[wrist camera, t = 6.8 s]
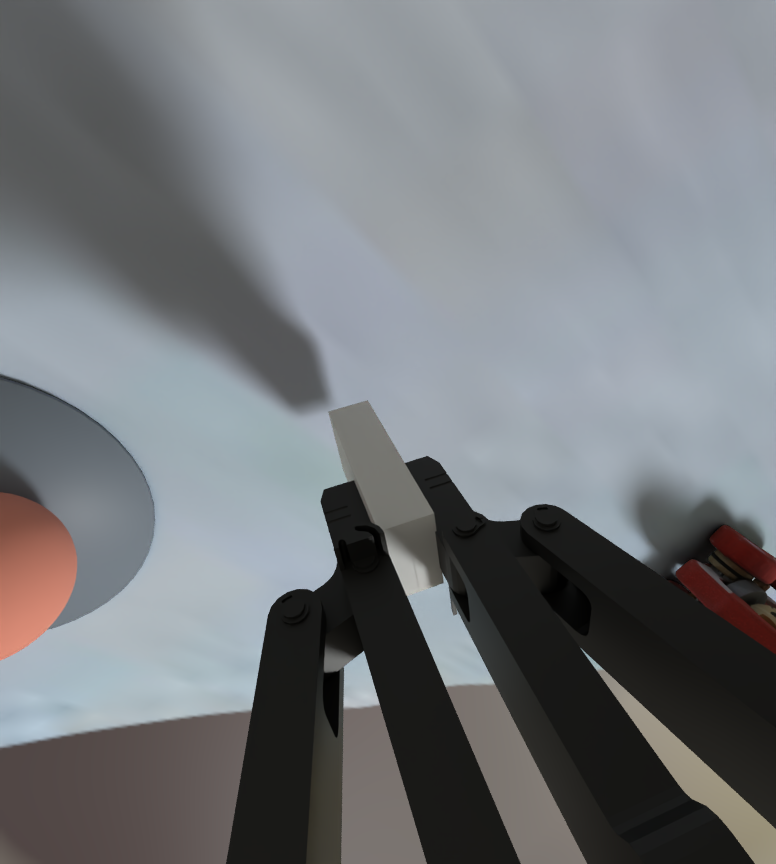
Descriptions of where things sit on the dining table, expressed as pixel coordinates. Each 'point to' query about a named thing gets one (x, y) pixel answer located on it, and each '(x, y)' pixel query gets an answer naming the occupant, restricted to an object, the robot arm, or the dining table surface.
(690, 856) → the robot arm
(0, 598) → the ball
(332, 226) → the dining table surface
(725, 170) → the dining table surface
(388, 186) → the dining table surface
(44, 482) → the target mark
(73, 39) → the dining table surface
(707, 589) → the toy fire truck
